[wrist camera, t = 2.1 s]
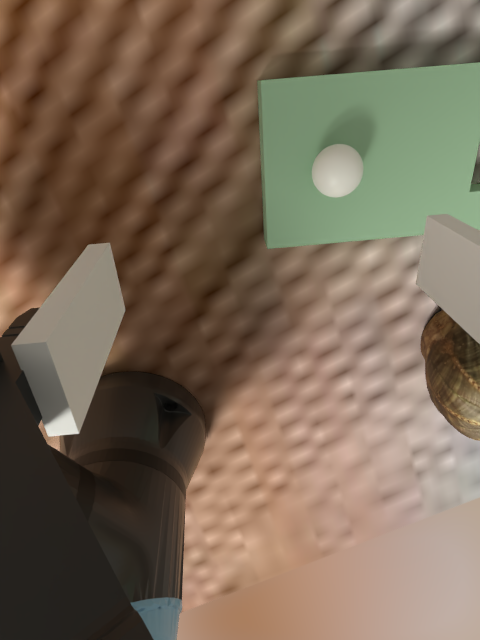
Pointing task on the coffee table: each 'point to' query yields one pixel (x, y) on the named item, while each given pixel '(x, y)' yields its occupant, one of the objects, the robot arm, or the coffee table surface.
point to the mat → (370, 152)
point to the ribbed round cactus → (453, 373)
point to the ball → (337, 170)
